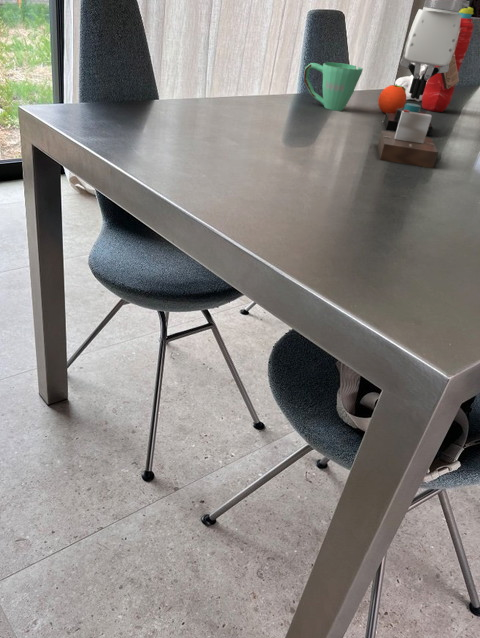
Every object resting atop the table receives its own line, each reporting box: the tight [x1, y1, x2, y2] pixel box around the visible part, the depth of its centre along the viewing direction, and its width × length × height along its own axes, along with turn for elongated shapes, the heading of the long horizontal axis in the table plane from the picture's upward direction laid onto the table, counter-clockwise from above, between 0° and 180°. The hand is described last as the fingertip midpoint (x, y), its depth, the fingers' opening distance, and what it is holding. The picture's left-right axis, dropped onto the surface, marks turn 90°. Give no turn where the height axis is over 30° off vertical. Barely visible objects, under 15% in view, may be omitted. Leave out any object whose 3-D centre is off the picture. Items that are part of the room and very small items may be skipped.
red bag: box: [421, 6, 474, 113], centre depth 152 cm, size 12×8×25 cm, turn 163°
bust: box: [394, 62, 428, 102], centre depth 171 cm, size 12×8×11 cm
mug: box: [303, 61, 364, 112], centre depth 145 cm, size 15×10×10 cm
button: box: [403, 102, 422, 113], centre depth 133 cm, size 4×4×2 cm
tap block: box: [377, 130, 439, 169], centre depth 112 cm, size 10×12×3 cm
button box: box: [383, 107, 434, 138], centre depth 134 cm, size 10×10×4 cm
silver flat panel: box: [395, 110, 432, 144], centre depth 110 cm, size 6×2×5 cm, turn 78°
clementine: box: [377, 84, 407, 115], centre depth 147 cm, size 8×7×7 cm
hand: (414, 97), depth 131 cm, fingers closed
